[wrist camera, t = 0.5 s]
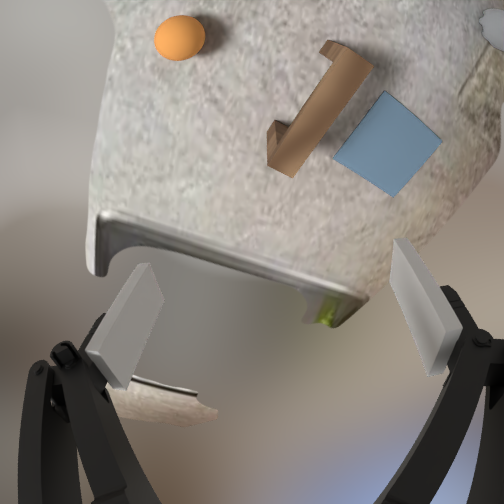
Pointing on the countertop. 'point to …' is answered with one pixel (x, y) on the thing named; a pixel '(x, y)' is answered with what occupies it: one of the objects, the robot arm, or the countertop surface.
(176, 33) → the ball
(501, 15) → the bottle
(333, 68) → the bridge
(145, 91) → the countertop surface
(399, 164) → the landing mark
